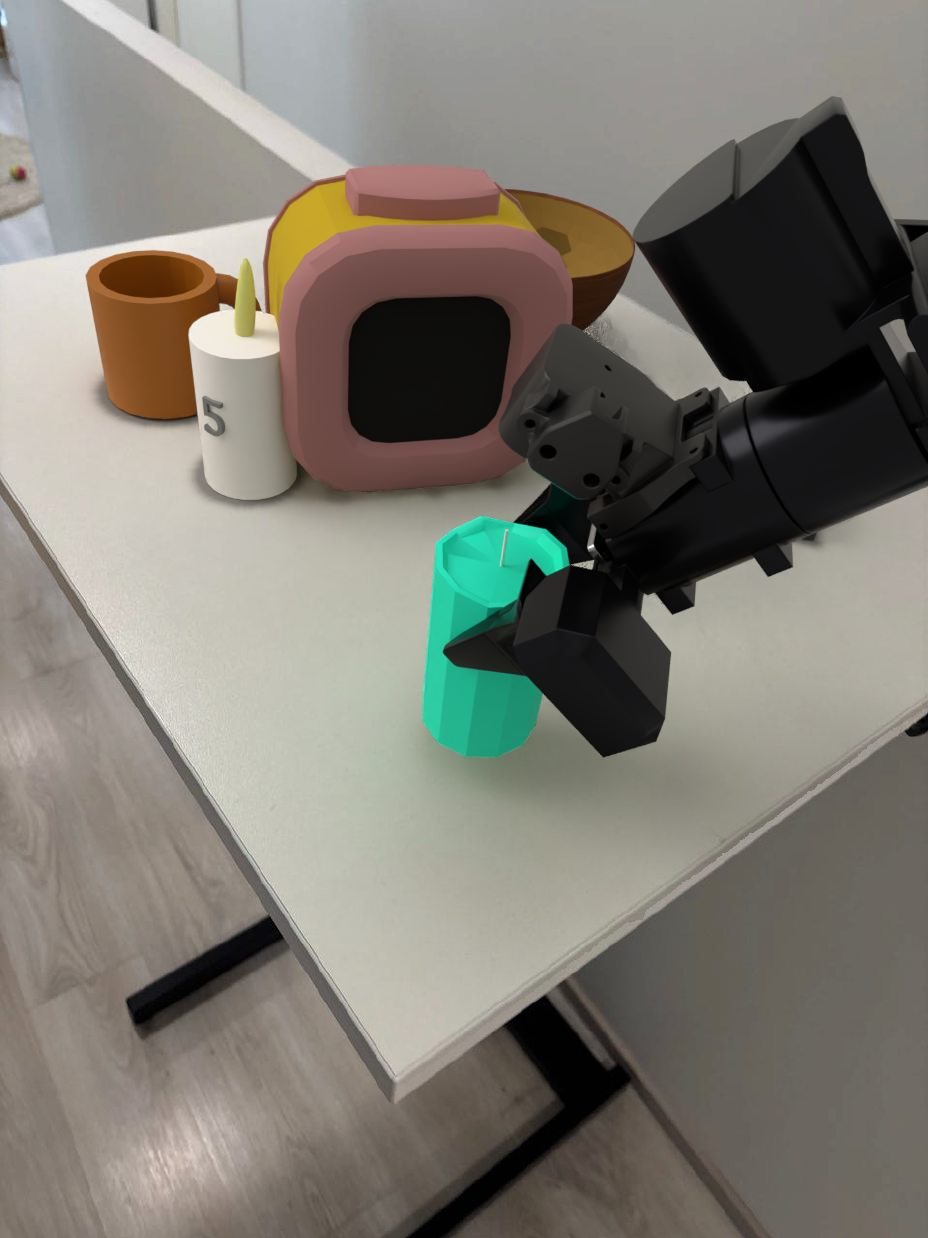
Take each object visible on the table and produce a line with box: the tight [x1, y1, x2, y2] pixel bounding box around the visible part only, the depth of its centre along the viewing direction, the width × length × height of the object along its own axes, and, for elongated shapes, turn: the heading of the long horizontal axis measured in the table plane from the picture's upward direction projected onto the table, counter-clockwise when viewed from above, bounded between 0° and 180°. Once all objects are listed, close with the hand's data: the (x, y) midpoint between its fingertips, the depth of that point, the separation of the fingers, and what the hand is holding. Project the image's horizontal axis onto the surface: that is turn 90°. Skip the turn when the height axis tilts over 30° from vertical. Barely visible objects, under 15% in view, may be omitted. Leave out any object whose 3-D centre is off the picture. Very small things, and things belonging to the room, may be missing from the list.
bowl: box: [504, 188, 636, 332], centre depth 78 cm, size 18×18×10 cm
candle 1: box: [189, 257, 298, 501], centre depth 58 cm, size 6×6×15 cm
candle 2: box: [421, 515, 569, 758], centre depth 43 cm, size 6×6×12 cm
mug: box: [85, 249, 263, 420], centre depth 67 cm, size 9×12×9 cm
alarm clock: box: [262, 164, 573, 494], centre depth 61 cm, size 18×11×19 cm, turn 105°
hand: (464, 611), depth 43 cm, fingers closed on candle 2, 6 cm apart
